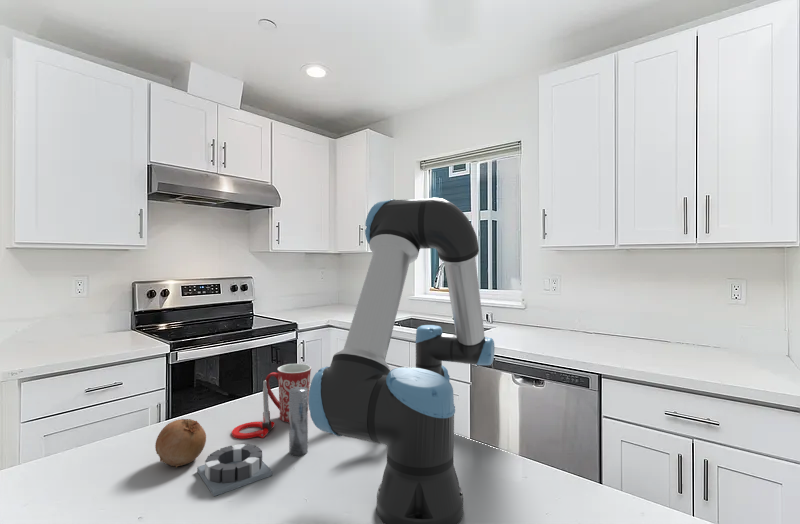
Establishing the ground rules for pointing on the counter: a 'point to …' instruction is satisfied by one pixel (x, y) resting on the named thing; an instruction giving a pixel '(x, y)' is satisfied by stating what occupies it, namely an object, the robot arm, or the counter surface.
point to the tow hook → (265, 425)
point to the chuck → (233, 468)
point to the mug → (288, 385)
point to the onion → (180, 442)
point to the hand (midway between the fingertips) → (335, 406)
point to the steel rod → (298, 421)
